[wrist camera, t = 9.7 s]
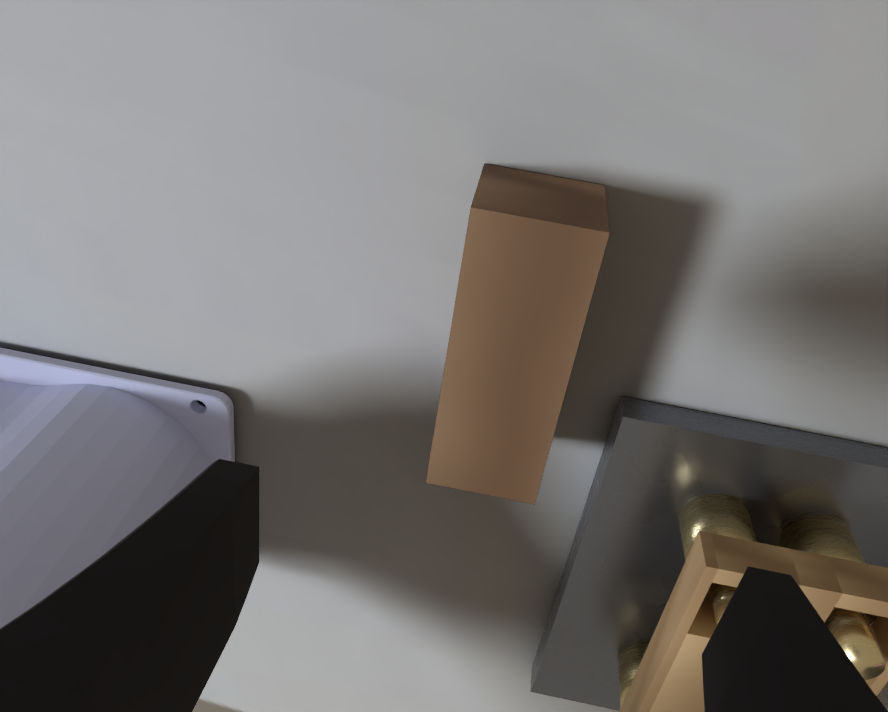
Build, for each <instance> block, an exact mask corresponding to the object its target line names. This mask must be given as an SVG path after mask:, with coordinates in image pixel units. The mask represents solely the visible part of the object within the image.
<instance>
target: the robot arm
mask: <svg viewBox="0 0 888 712" xmlns="http://www.w3.org/2000/svg"><path fill="white" fill-rule="evenodd" d="M196 400H199V401H201V402H203V403H204V404H205V406H202V405H200V404H199V403H198V402H197V401H196ZM258 563H259V467H257V466H252V465H247V464H242V463H237V462H235V444H234V406H233V402H232V400H231V399H230V398H229V397H228V396H227V395H226V394H224V393H222V392H220V391H216V390H211V389H206V388H201V387H196V386H191V385H186V384H181V383H176V382H171V381H166V380H161V379H156V378H151V377H146V376H141V375H136V374H131V373H125V372H120V371H115V370H110V369H105V368H100V367H95V366H90V365H85V364H80V363H75V362H70V361H65V360H60V359H55V358H50V357H45V356H40V355H35V354H30V353H25V352H20V351H15V350H10V349H5V348H0V712H192V711H193V709H194V707H195V705H196V703H197V701H198V699H199V697H200V695H201V693H202V691H203V689H204V687H205V685H206V683H207V681H208V679H209V677H210V675H211V673H212V671H213V669H214V667H215V665H216V663H217V661H218V659H219V657H220V655H221V653H222V651H223V649H224V647H225V645H226V643H227V642H228V639H229V637H230V635H231V633H232V631H233V629H234V627H235V625H236V623H237V620H238V617H239V615H240V612H241V610H242V607H243V604H244V602H245V599H246V597H247V594H248V591H249V588H250V586H251V583H252V580H253V577H254V574H255V572H256V569H257V566H258ZM702 671H703V694H704V707H705V712H887V710H886V709H885V707H884V706H883V705H882V703H881V702H880V701H879V699H878V698H877V696H876V695H875V694H874V692H873V691H872V690H871V688H870V687H869V685H868V684H867V683H866V681H865V680H864V678H863V677H862V676H861V674H860V673H859V671H858V670H857V669H856V667H855V666H854V664H853V663H852V661H851V660H850V659H849V657H848V656H847V654H846V653H845V651H844V650H843V649H842V647H841V646H840V644H839V643H838V641H837V640H836V639H835V637H834V636H833V634H832V633H831V631H830V630H829V629H828V627H827V626H826V624H825V623H824V621H823V620H822V618H821V617H820V616H819V614H818V613H817V611H816V610H815V608H814V607H813V605H812V604H811V603H810V601H809V600H808V598H807V597H806V595H805V594H804V592H803V591H802V590H801V588H800V587H799V585H798V584H797V583H796V581H795V580H794V578H793V577H792V576H791V575H788V574H783V573H779V572H774V571H769V570H764V569H759V568H754V567H749V566H748V567H747V569H746V571H745V573H744V575H743V577H742V579H741V581H740V583H739V584H738V586H737V588H736V590H735V592H734V594H733V596H732V598H731V600H730V602H729V604H728V605H727V607H726V609H725V611H724V613H723V615H722V617H721V619H720V621H719V623H718V624H717V626H716V628H715V630H714V632H713V634H712V636H711V638H710V640H709V642H708V644H707V645H706V647H705V649H704V651H703V653H702Z"/></svg>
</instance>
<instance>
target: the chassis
mask: <svg viewBox="0 0 888 712" xmlns="http://www.w3.org/2000/svg"><path fill="white" fill-rule="evenodd" d="M699 531H703V532H708V533H713V534H718V535H723V536H728V537H733V538H738V539H743V540H748V541H754V542H759V543H764V544H769V545H774V546H779V547H784V548H789V549H794V550H799V551H805V552H810V553H815V554H820V555H825V556H830V557H835V558H840V559H845V560H850V561H855V562H861V563H866V564H871V565H876V566H881V567H886V568H888V448H886V447H881V446H876V445H870V444H865V443H860V442H855V441H850V440H845V439H839V438H834V437H829V436H824V435H819V434H814V433H809V432H803V431H798V430H793V429H788V428H783V427H778V426H772V425H767V424H762V423H757V422H752V421H747V420H741V419H736V418H731V417H726V416H721V415H716V414H711V413H705V412H700V411H695V410H690V409H685V408H680V407H674V406H669V405H664V404H659V403H654V402H649V401H643V400H638V399H633V398H628V397H623V396H621V398H620V401H619V404H618V407H617V410H616V414H615V417H614V420H613V423H612V426H611V429H610V432H609V435H608V438H607V441H606V444H605V447H604V450H603V453H602V456H601V459H600V462H599V465H598V468H597V471H596V474H595V478H594V481H593V484H592V487H591V490H590V493H589V496H588V499H587V502H586V505H585V508H584V511H583V514H582V517H581V520H580V523H579V526H578V529H577V532H576V535H575V538H574V542H573V545H572V548H571V551H570V554H569V557H568V560H567V563H566V566H565V569H564V572H563V575H562V578H561V581H560V584H559V587H558V590H557V593H556V596H555V599H554V602H553V605H552V609H551V612H550V615H549V618H548V621H547V624H546V627H545V630H544V633H543V636H542V639H541V642H540V645H539V648H538V651H537V654H536V657H535V660H534V663H533V666H532V677H531V692H535V693H540V694H544V695H549V696H554V697H558V698H563V699H568V700H572V701H577V702H582V703H586V704H591V705H596V706H600V707H605V708H610V709H614V710H620V708H621V706H622V704H623V701H624V699H625V697H626V694H627V692H628V690H629V688H630V685H631V683H632V681H633V679H634V676H635V674H636V672H637V670H638V667H639V665H640V663H641V661H642V658H643V656H644V654H645V652H646V649H647V647H648V645H649V643H650V640H651V638H652V636H653V634H654V631H655V629H656V627H657V625H658V622H659V620H660V618H661V616H662V613H663V611H664V609H665V607H666V604H667V602H668V600H669V598H670V595H671V593H672V591H673V589H674V586H675V584H676V582H677V580H678V577H679V575H680V573H681V571H682V568H683V566H684V564H685V561H686V559H687V557H688V555H689V552H690V550H691V548H692V546H693V543H694V541H695V539H696V537H697V534H698V532H699ZM736 588H737V587H732V586H727V585H722V584H717V583H711V585H710V587H709V590H708V592H707V594H706V596H705V598H704V600H703V601H704V602H709V603H712V604H713V610H714V615H715V620H716V625H717V624H718V623H719V621H720V619H721V617H722V615H723V613H724V611H725V609H726V607H727V605H728V604H729V602H730V600H731V598H732V596H733V594H734V592H735V590H736ZM877 617H878V616H877V615H872V614H867V613H862V612H857V611H852V610H847V609H842V608H837V607H834V609H833V610H832V612H831V613H830V615H829V616H828V618H827V620H826V621H825V624H826V626H827V627H828V629H829V630H830V631H831V633H832V634H833V636H834V637H835V639H836V640H837V641H838V643H839V644H840V646H841V647H842V649H843V650H844V651H845V653H846V654H847V656H848V657H849V659H850V660H851V661H852V663H853V664H854V666H855V667H856V669H857V670H858V671H859V673H860V674H861V676H862V677H863V678H864V680H869V679H872V678H875V677H877V676H879V675H881V674H882V673H883V672H884V670H885V662H884V660H883V657H882V655H881V652H880V650H879V647H878V645H877V643H876V640H875V638H874V635H873V633H872V630H871V628H870V627H871V625H872V624H873V622H874V621H875V619H876V618H877Z"/></svg>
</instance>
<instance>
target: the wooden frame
mask: <svg viewBox="0 0 888 712" xmlns="http://www.w3.org/2000/svg"><path fill="white" fill-rule="evenodd" d="M748 566H749V567H754V568H759V569H764V570H769V571H774V572H779V573H783V574H788V575H791V576H792V577H793V578H794V580H795V581H796V583H797V584H798V585H799V587H800V588H801V590H802V591H803V592H804V594H805V595H806V597H807V598H808V600H809V601H810V603H811V604H812V605H813V607H814V608H815V610H816V611H817V613H818V614H819V616H820V617H821V618H822V620H823V621H824V623H825V621H826V620H827V618H828V616H829V615H830V613H831V612H832V610H833V609H834V607H837V608H842V609H847V610H852V611H857V612H862V613H867V614H872V615H877V616H878V617H877V618H876V619H875V621H874V622H873V624H872V625H871V627H870V628H871V630H872V633H873V635H874V638H875V640H876V643H877V645H878V647H879V650H880V652H881V655H882V657H883V660H884V662H885V670H884V672H883V673H882V674H881V675H879V676H877V677H875V678H872V679H869V680H865V681H866V683H867V684H868V685H869V687H870V688H871V690H872V691H873V692H874V694H875V695H876V696H877V695H878V694H879V693H880V691H881V690H882V689H883V687H884V686H885V685H886V683H887V682H888V568H886V567H881V566H876V565H871V564H866V563H861V562H855V561H850V560H845V559H840V558H835V557H830V556H825V555H820V554H815V553H810V552H805V551H799V550H794V549H789V548H784V547H779V546H774V545H769V544H764V543H759V542H754V541H748V540H743V539H738V538H733V537H728V536H723V535H718V534H713V533H708V532H703V531H699V532H698V534H697V537H696V539H695V541H694V543H693V546H692V548H691V550H690V552H689V555H688V557H687V559H686V561H685V564H684V566H683V568H682V571H681V573H680V575H679V577H678V580H677V582H676V584H675V586H674V589H673V591H672V593H671V595H670V598H669V600H668V602H667V604H666V607H665V609H664V611H663V613H662V616H661V618H660V620H659V622H658V625H657V627H656V629H655V631H654V634H653V636H652V638H651V640H650V643H649V645H648V647H647V649H646V652H645V654H644V656H643V658H642V661H641V663H640V665H639V667H638V670H637V672H636V674H635V676H634V679H633V681H632V683H631V685H630V688H629V690H628V692H627V694H626V697H625V699H624V701H623V704H622V706H621V708H620V710H619V712H705V707H704V694H703V671H702V653H703V651H704V649H705V647H706V645H707V644H708V642H709V640H710V638H711V636H712V634H713V632H714V630H715V628H716V626H717V625H716V620H715V615H714V610H713V604H712V603H709V602H704V601H703V600H704V598H705V596H706V594H707V592H708V590H709V587H710V585H711V583H717V584H722V585H727V586H732V587H737V586H738V584H739V583H740V581H741V579H742V577H743V575H744V573H745V571H746V569H747V567H748Z"/></svg>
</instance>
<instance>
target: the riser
mask: <svg viewBox="0 0 888 712" xmlns="http://www.w3.org/2000/svg"><path fill="white" fill-rule="evenodd" d="M609 234H610V231H609V222H608V213H607V203H606V194H605V185H600V184H595V183H589V182H584V181H578V180H572V179H567V178H561V177H556V176H550V175H545V174H539V173H534V172H528V171H523V170H517V169H512V168H506V167H500V166H495V165H489V164H484V167H483V170H482V173H481V176H480V179H479V183H478V186H477V189H476V192H475V195H474V199H473V202H472V205H471V209H470V215H469V221H468V227H467V233H466V239H465V246H464V252H463V258H462V264H461V270H460V276H459V282H458V288H457V294H456V301H455V307H454V313H453V319H452V325H451V331H450V337H449V343H448V349H447V356H446V362H445V368H444V374H443V380H442V386H441V392H440V398H439V405H438V411H437V417H436V423H435V429H434V435H433V441H432V447H431V453H430V460H429V466H428V472H427V478H426V483H430V484H435V485H440V486H445V487H450V488H455V489H460V490H465V491H470V492H475V493H480V494H484V495H489V496H494V497H499V498H504V499H509V500H514V501H519V502H524V503H529V504H534V505H535V501H536V497H537V494H538V490H539V486H540V483H541V479H542V476H543V472H544V468H545V465H546V461H547V458H548V454H549V450H550V447H551V443H552V440H553V436H554V432H555V429H556V425H557V421H558V418H559V414H560V411H561V407H562V403H563V400H564V396H565V393H566V389H567V385H568V382H569V378H570V374H571V371H572V367H573V364H574V360H575V356H576V353H577V349H578V346H579V342H580V338H581V335H582V331H583V327H584V324H585V320H586V317H587V313H588V309H589V306H590V302H591V299H592V295H593V291H594V288H595V284H596V281H597V277H598V273H599V270H600V266H601V262H602V259H603V255H604V252H605V248H606V244H607V241H608V237H609Z"/></svg>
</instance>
